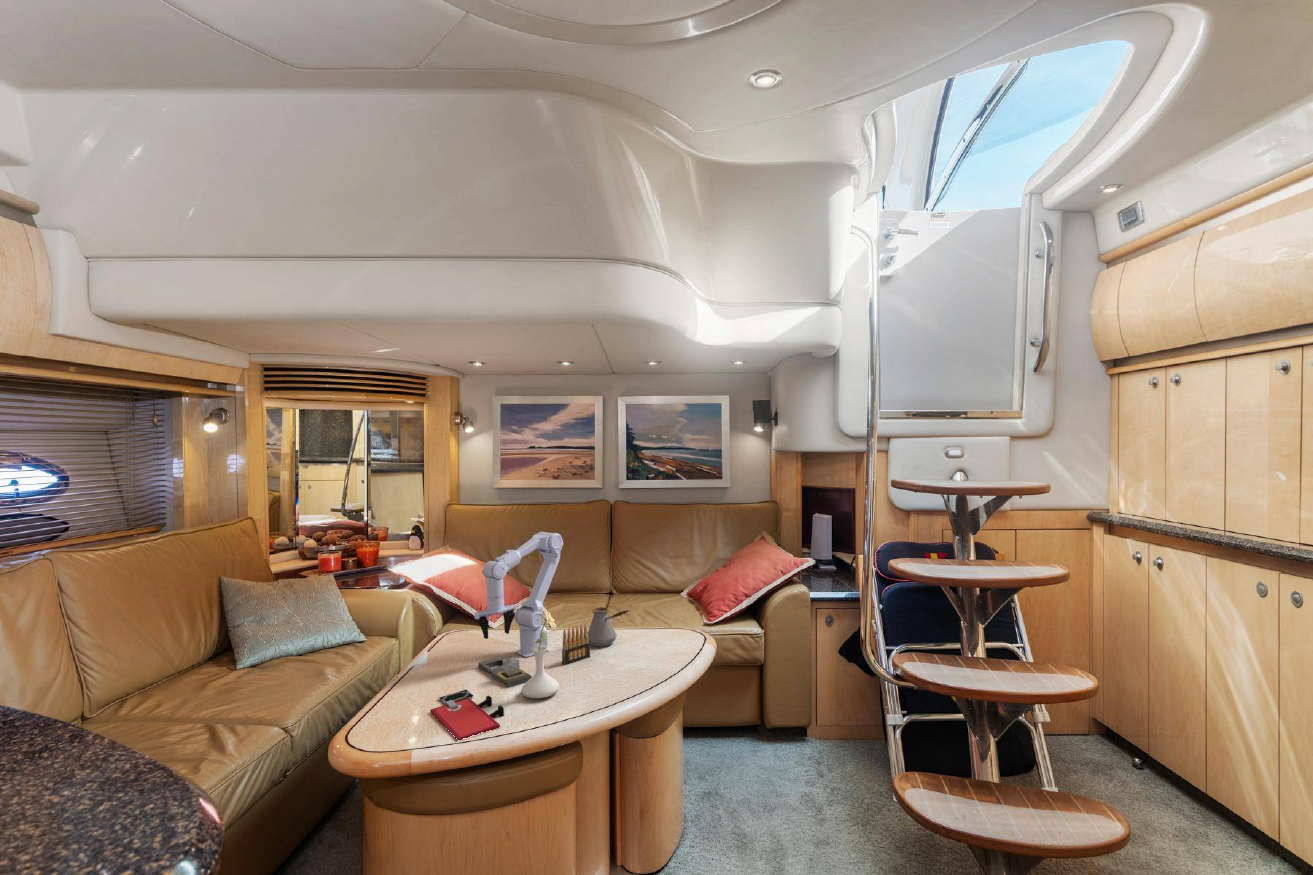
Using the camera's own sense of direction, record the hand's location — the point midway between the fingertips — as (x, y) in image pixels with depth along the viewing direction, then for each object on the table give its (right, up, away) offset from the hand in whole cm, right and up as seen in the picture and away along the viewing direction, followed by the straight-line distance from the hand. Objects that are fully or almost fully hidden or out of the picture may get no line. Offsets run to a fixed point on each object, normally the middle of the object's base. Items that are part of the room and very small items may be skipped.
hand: (496, 635), depth 208 cm
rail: (+5, -10, -9) cm, 14 cm away
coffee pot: (+38, -9, +15) cm, 42 cm away
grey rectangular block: (+8, -10, -14) cm, 19 cm away
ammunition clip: (+28, -9, +1) cm, 29 cm away
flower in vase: (+21, -9, -26) cm, 35 cm away
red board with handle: (+2, -10, -38) cm, 40 cm away
